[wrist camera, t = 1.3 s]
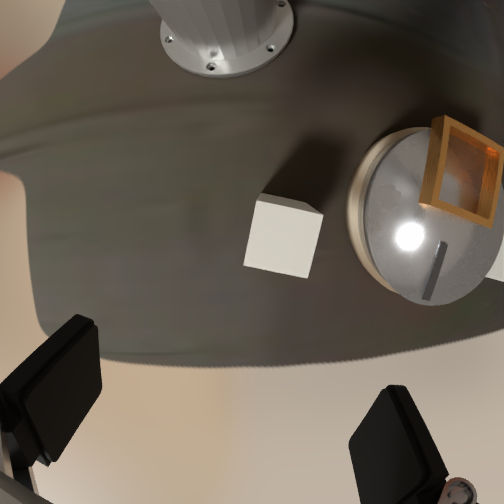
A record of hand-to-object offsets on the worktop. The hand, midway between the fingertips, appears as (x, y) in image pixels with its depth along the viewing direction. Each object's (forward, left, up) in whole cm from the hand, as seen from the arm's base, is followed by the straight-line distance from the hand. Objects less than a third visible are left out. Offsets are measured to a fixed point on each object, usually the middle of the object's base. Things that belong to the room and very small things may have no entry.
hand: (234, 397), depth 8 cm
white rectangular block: (-3, +1, -19) cm, 20 cm away
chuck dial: (-7, +15, -17) cm, 24 cm away
